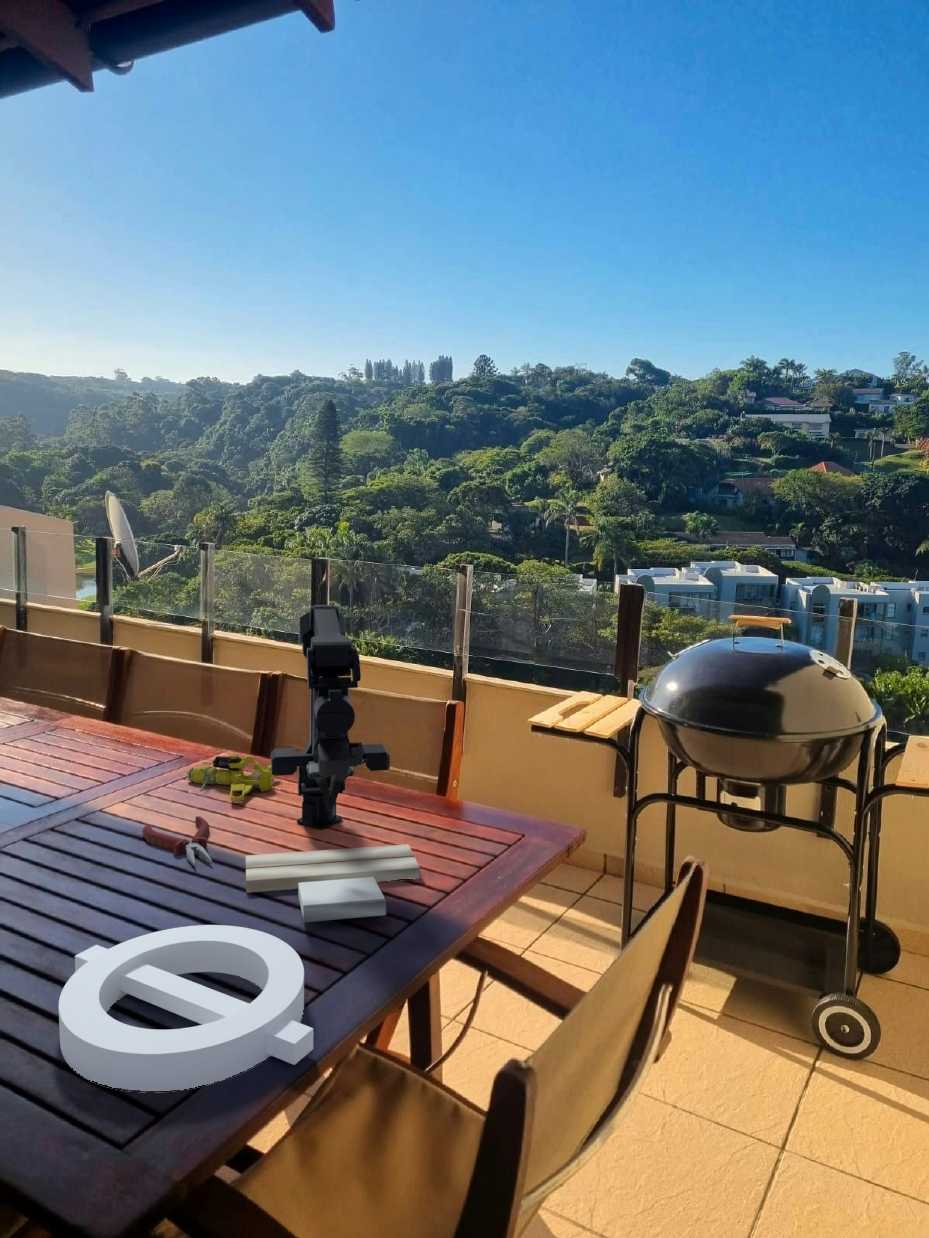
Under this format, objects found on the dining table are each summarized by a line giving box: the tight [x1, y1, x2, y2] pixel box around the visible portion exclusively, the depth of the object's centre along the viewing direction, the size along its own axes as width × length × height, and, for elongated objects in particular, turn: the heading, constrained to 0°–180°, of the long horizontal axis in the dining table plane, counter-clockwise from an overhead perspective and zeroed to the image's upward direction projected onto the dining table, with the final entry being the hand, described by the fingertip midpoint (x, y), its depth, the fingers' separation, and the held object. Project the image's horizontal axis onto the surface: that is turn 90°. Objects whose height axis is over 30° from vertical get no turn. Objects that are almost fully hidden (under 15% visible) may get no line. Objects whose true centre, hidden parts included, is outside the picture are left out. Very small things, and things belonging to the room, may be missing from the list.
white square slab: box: [297, 877, 387, 923], centre depth 135 cm, size 2×12×12 cm
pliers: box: [141, 815, 213, 868], centre depth 156 cm, size 12×20×3 cm, turn 33°
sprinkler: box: [186, 753, 275, 803], centre depth 188 cm, size 19×8×20 cm
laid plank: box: [245, 843, 421, 894], centre depth 148 cm, size 10×28×2 cm, turn 104°
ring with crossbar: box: [58, 924, 314, 1091], centre depth 107 cm, size 28×28×5 cm
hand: (329, 809), depth 144 cm, fingers closed
